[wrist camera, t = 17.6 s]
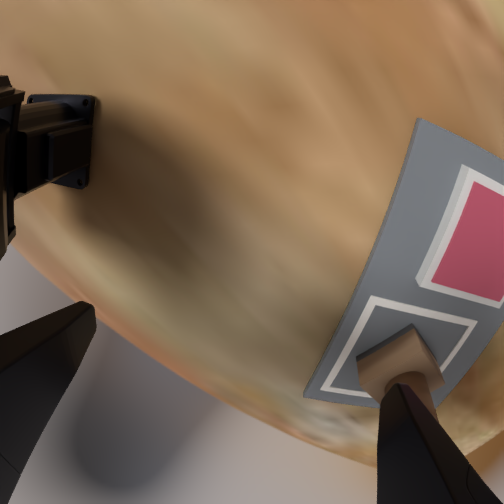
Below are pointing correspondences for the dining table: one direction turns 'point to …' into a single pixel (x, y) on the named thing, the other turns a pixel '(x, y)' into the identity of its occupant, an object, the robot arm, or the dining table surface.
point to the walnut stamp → (400, 367)
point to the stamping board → (427, 267)
